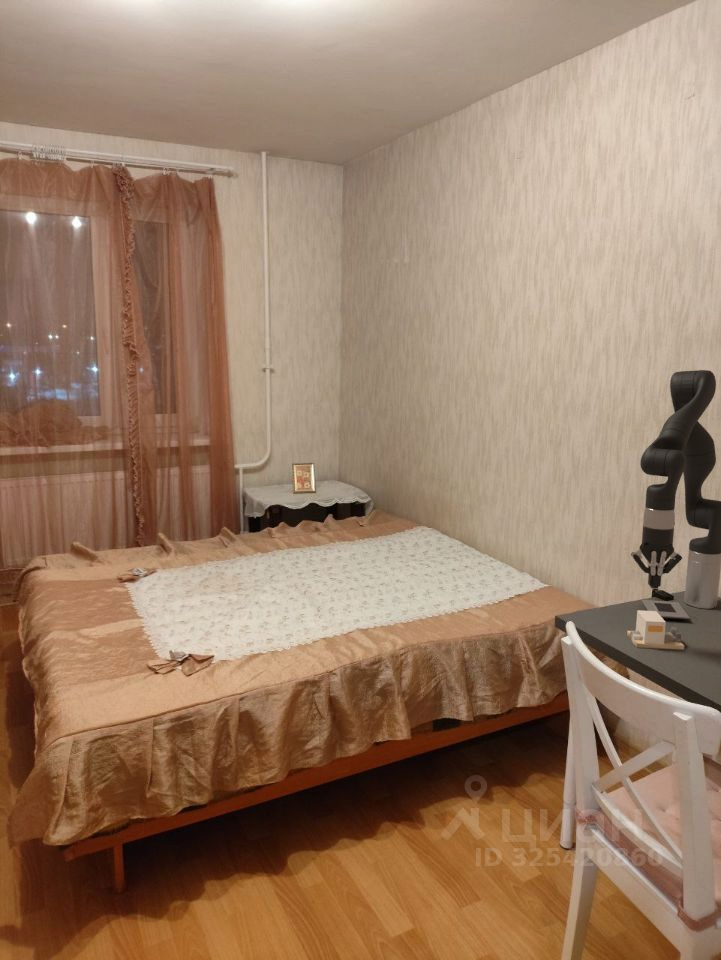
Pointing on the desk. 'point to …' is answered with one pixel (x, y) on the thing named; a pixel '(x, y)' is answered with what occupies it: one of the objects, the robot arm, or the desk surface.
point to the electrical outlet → (666, 609)
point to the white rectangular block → (651, 627)
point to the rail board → (670, 642)
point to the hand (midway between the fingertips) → (653, 587)
